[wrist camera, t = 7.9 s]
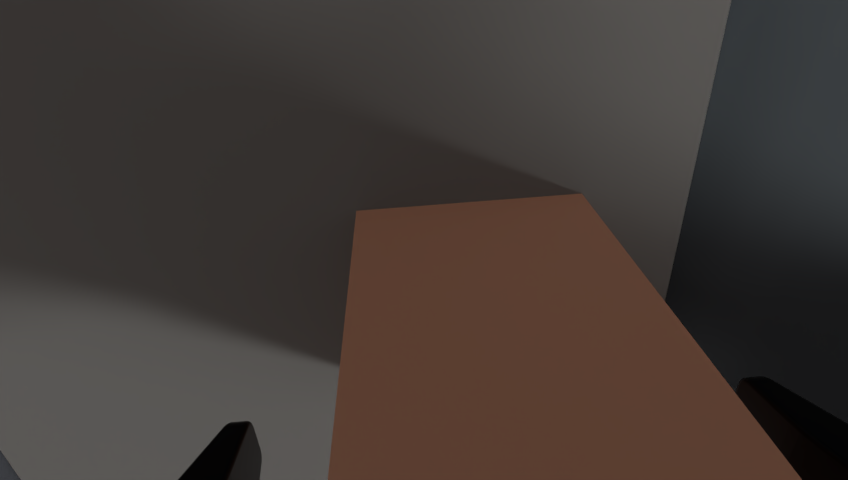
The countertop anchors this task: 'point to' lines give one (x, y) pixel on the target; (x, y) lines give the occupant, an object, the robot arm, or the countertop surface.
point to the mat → (289, 192)
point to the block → (524, 356)
